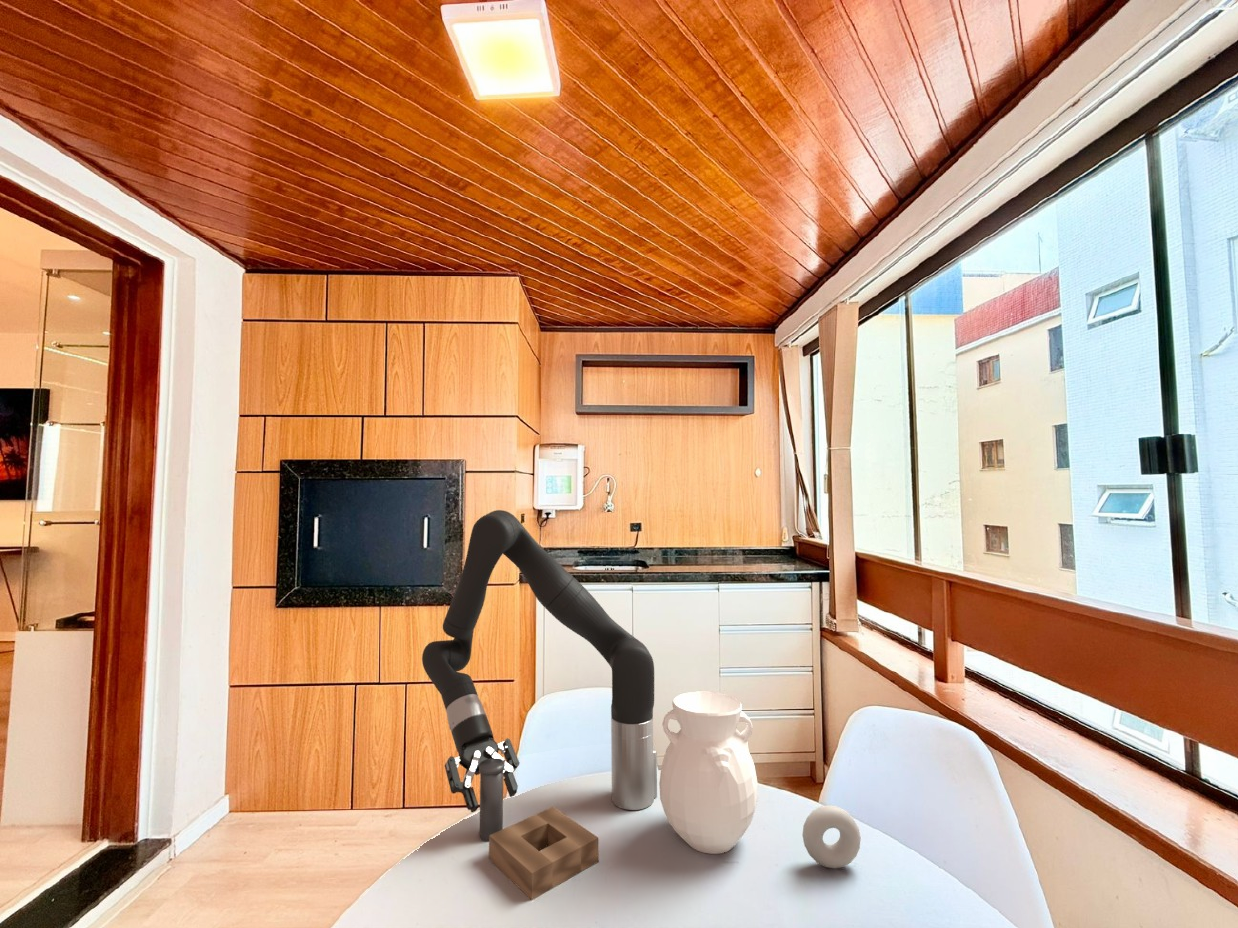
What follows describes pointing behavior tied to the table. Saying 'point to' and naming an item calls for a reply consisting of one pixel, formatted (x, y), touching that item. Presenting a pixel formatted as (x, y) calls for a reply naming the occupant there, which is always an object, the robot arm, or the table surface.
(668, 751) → the white handled vase
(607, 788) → the table surface
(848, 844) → the donut
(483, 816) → the plug
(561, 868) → the socket block
